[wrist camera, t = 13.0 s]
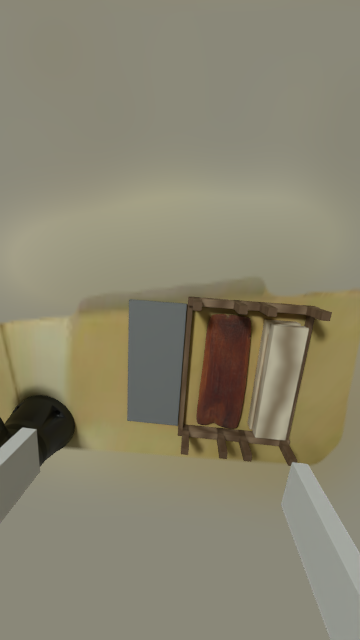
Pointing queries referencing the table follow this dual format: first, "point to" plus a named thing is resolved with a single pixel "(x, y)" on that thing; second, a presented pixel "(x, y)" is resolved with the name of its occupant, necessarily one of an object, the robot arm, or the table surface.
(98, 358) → the table surface
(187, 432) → the rack
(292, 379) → the offcut stack
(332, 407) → the table surface
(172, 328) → the mat
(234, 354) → the wooden tablet
